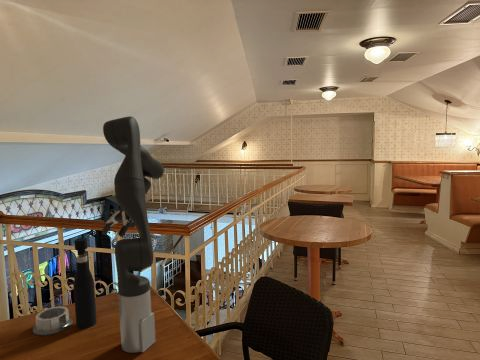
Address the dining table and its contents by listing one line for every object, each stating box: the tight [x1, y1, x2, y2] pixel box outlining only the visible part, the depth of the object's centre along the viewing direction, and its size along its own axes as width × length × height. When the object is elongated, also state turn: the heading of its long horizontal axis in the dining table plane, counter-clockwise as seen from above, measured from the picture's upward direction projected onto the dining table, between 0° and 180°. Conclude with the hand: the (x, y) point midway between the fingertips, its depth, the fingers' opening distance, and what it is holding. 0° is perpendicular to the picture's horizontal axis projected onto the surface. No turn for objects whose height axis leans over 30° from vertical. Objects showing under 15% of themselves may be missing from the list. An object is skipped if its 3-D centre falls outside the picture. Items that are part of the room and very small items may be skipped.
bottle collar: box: [32, 305, 74, 337], centre depth 114 cm, size 12×12×5 cm
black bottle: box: [73, 237, 98, 330], centre depth 114 cm, size 6×6×30 cm
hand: (111, 234), depth 125 cm, fingers open, 8 cm apart
